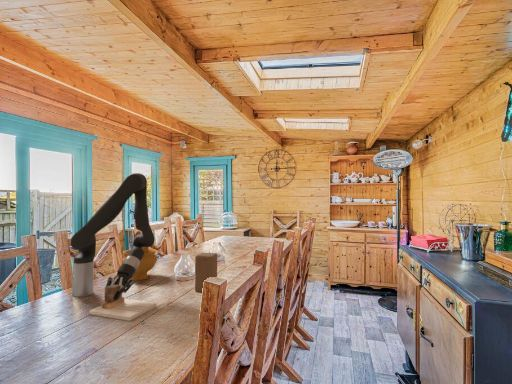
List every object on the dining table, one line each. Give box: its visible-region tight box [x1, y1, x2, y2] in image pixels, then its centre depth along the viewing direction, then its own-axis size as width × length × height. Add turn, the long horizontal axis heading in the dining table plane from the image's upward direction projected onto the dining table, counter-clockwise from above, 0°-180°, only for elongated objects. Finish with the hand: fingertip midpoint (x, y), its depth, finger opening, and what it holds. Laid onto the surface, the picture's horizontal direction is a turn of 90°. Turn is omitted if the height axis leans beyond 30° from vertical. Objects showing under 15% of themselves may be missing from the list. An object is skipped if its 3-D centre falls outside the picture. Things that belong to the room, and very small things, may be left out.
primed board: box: [88, 298, 157, 322], centre depth 141 cm, size 22×18×2 cm
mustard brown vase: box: [121, 230, 158, 281], centre depth 196 cm, size 21×21×30 cm
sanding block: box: [101, 284, 125, 309], centre depth 143 cm, size 5×9×9 cm, turn 162°
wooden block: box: [194, 252, 218, 293], centre depth 171 cm, size 10×10×20 cm
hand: (110, 299), depth 141 cm, fingers closed on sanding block, 4 cm apart
